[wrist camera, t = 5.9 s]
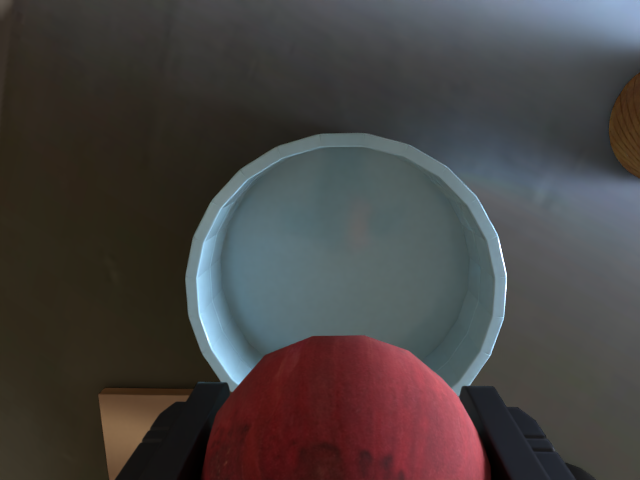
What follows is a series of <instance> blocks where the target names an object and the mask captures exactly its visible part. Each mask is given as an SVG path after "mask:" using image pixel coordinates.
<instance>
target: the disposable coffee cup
mask: <svg viewBox="0 0 640 480" xmlns="http://www.w3.org/2000/svg"><path fill="white" fill-rule="evenodd" d="M609 137H610V143H611V147H612V149H613V152H614V154H615V156H616V158H617V159H618V160H619V162H620V163H621V164H622V166H623V167H624V168H625V169H626V170H627V171H628V172H630V173H631V174H633V175H635V176H636V177H638V178H640V72H639V73H638V74H636V75H635V76H634V77H633V78H632V79H631V80H630V81H629V82H628V83H627V84H626V85H625V87H624V88H623V90H622V91H621V93H620V95H619V96H618V98H617V99H616V102H615V104H614V106H613V108H612V112H611V117H610V121H609Z"/></svg>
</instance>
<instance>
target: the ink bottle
mask: <svg viewBox="0 0 640 480" xmlns="http://www.w3.org/2000/svg"><path fill="white" fill-rule="evenodd" d="M565 464H566V466H567V467H568V469H569V470H570V472H571V473H572V475H573V476H574V477H575V479H576V480H596V479H595V478H594V477H592V476H591V475H590V474H589V473H587V472H586V471H584V470H582V469H580V468H578V467H576V466H574V465H571V464H568V463H565Z"/></svg>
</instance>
